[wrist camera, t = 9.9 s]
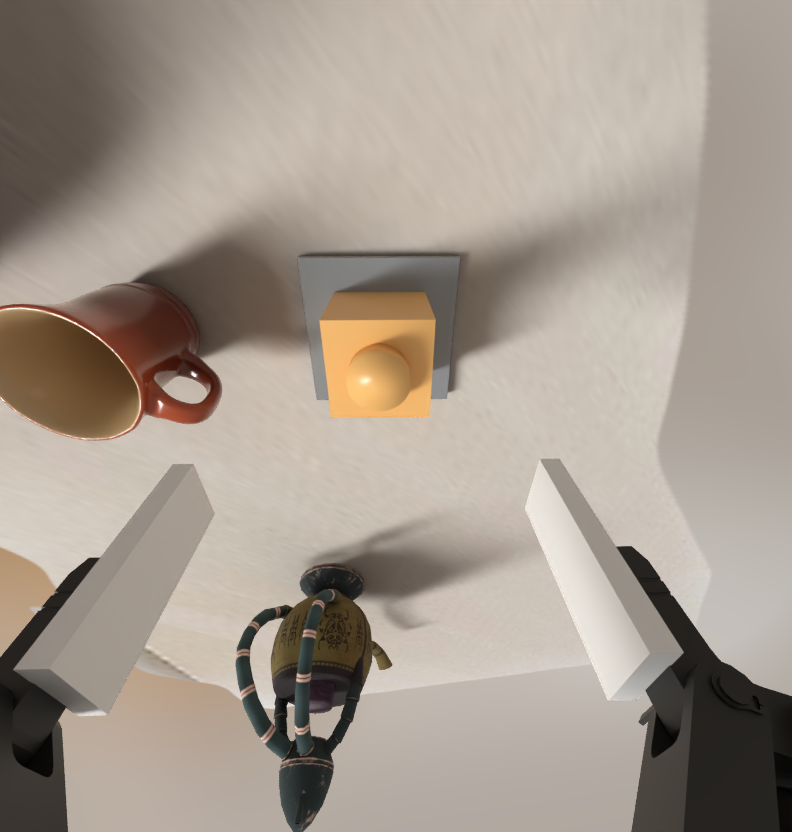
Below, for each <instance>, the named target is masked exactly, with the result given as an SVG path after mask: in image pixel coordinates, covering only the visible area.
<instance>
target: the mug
mask: <svg viewBox="0 0 792 832" xmlns="http://www.w3.org/2000/svg"><path fill="white" fill-rule="evenodd" d="M199 339H200V334H199V329H198V326H197V324H196V322H195V320H194V318H193V316H192V314H191V313H190V311H189V310H188V309H187V307H186V306H185V305H184V304H183V303H182V302H181V301H180V300H179V299H177V298H176V297H175V296H174V295H172V294H171V293H169V292H168V291H166V290H164V289H162V288H160V287H157V286H154V285H151V284H146V283H121V284H112V285H108V286H105V287H103V288H101V289H99V290H96V291H93V292H90V293H87V294H85V295H82V296H80V297H78V298H75V299H73V300H71V301H68V302H65V303H62V304H55V305H42V304H12V305H5V306H1V307H0V399H1V400H2V401H3V402H5V403H6V404H7V405H8V406H9V407H10V408H12V409H13V410H14V411H16V412H17V413H19V414H20V415H21V416H23V417H25V418H26V419H28V420H29V421H31V422H33V423H35V424H37V425H39V426H41V427H43V428H45V429H47V430H49V431H52V432H55V433H57V434H60V435H64V436H67V437H71V438H76V439H81V440H95V441H97V440H109V439H113V438H117V437H120V436H122V435H125V434H127V433H129V432H130V431H132V430H133V429H135V428H136V427H137V425H138V424H139V423H140V421H141V419H142V418H143V417H144V416H145V415H150V416H153V417H156V418H162V419H167V420H170V421H174V422H177V423H183V424H196V423H200V422H203V421H204V420H206V419H208V418H209V417H210V416H211V415H212V414H213V412H214V411H215V410H216V408H217V406H218V404H219V402H220V398H221V395H222V384H221V381H220V379H219V377H218V375H217V374H216V373H215V372H214V371H213V370H212V369H211V368H210V367H209V366H208V365H207V364H206V363H205V362H204V361H202V360H201V359H200V358H199V357H198V356H196V355H195V354H196V352H197V350H198V347H199ZM177 376H182V377H187V378H190V379H193V380H195V381H197V382H199V383H201V384H202V385H203V386H204V387H205V388H206V390H207V392H208V395H207V396H206V398H205V399H204V400H203V401H202V402H200V403H197V404H189V403H185V402H181V401H179V400H176V399H174V398H172V397H171V396H169V395H168V394H167V393H166V392H165V391H164V390H163V389H162V387H163V386H165V385H166V384H167V383H169V382H170V381H171V380H172V379H174V378H175V377H177Z"/></svg>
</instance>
